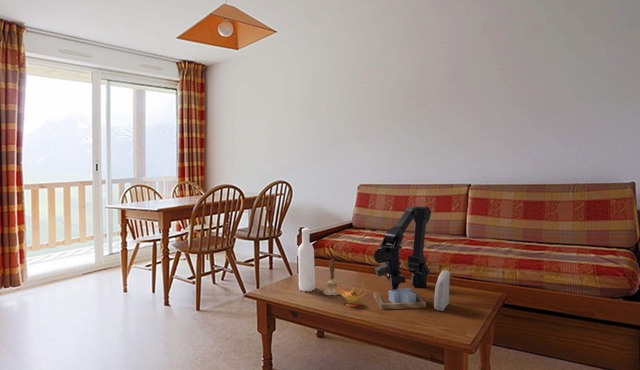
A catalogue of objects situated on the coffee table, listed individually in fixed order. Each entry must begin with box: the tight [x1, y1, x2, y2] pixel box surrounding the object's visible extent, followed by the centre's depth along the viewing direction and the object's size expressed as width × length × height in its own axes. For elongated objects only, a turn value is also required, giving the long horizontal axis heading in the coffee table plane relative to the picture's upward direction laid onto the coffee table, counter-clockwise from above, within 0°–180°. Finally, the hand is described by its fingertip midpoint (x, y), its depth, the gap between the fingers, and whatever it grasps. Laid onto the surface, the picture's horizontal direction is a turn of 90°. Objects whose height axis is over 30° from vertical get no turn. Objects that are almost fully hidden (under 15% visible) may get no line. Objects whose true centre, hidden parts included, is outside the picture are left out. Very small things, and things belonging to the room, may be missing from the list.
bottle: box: [297, 227, 316, 292], centre depth 188 cm, size 8×8×30 cm
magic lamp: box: [332, 281, 367, 308], centre depth 166 cm, size 7×18×11 cm, turn 50°
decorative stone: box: [433, 270, 451, 312], centre depth 160 cm, size 11×6×15 cm, turn 151°
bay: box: [373, 290, 427, 310], centre depth 167 cm, size 19×16×2 cm
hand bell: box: [323, 259, 341, 296], centre depth 182 cm, size 8×8×16 cm
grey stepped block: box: [388, 287, 417, 303], centre depth 167 cm, size 10×10×4 cm
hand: (394, 292), depth 177 cm, fingers closed
